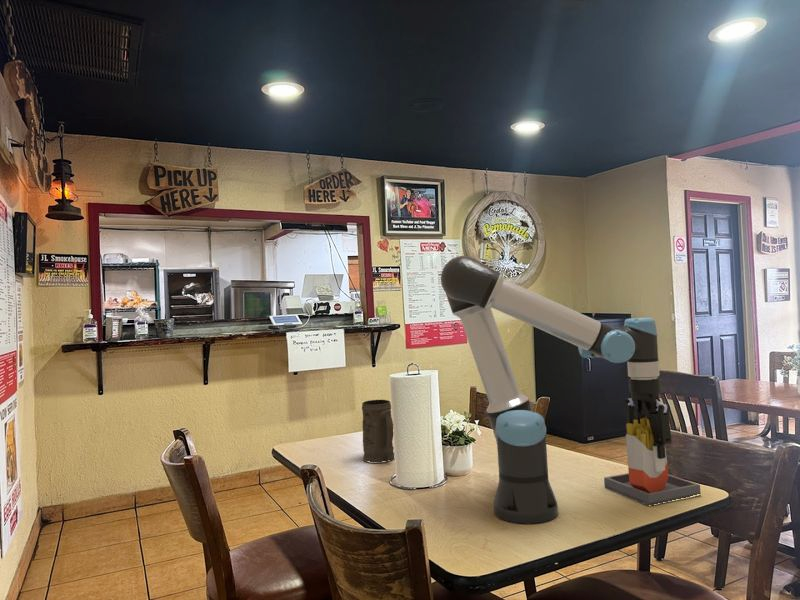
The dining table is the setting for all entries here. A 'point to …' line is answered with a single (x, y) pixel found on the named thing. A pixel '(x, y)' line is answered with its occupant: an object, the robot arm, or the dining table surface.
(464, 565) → the dining table surface
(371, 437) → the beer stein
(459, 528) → the dining table surface
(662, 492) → the serving tray
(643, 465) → the french fries container
